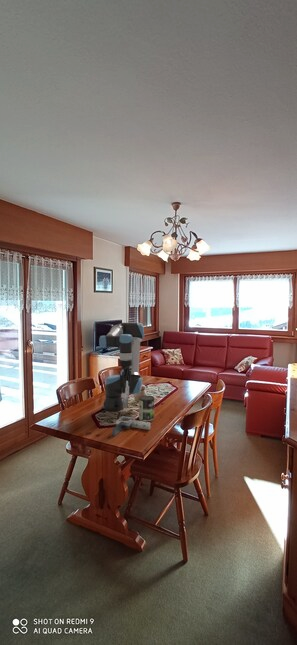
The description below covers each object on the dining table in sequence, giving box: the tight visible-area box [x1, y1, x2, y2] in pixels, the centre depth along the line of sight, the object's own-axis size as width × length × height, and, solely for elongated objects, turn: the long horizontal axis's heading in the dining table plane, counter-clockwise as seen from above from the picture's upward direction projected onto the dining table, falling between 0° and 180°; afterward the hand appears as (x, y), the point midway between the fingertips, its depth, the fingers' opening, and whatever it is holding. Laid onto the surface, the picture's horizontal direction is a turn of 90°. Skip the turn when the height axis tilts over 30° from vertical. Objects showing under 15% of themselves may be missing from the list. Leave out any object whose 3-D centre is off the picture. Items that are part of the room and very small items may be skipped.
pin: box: [122, 381, 129, 408], centre depth 191 cm, size 3×3×16 cm
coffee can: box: [138, 394, 155, 422], centre depth 204 cm, size 10×10×14 cm
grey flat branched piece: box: [111, 415, 152, 437], centre depth 185 cm, size 21×21×4 cm
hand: (125, 396), depth 191 cm, fingers closed on pin, 3 cm apart
